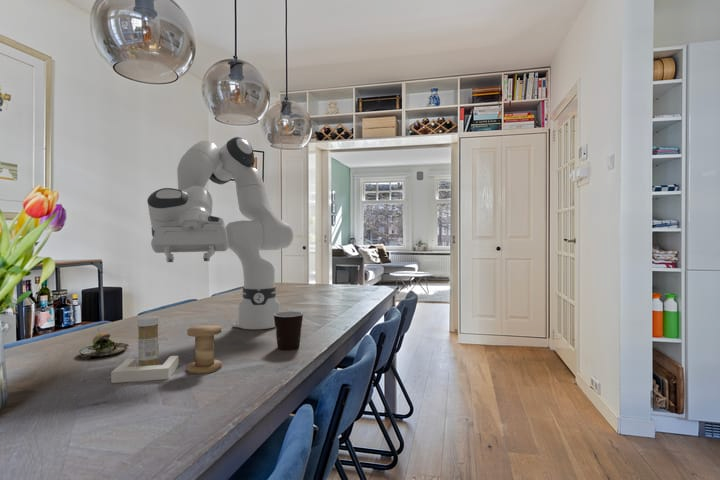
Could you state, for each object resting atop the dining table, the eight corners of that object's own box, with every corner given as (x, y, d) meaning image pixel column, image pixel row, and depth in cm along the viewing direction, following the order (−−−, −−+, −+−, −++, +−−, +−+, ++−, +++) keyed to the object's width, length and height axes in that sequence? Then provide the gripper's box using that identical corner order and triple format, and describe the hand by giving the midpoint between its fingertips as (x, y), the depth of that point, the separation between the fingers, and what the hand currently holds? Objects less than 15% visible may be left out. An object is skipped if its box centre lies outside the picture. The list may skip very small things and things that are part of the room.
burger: (85, 363, 104) (85, 335, 104) (73, 354, 112) (73, 328, 112) (135, 353, 113) (135, 327, 113) (120, 346, 121) (120, 321, 121)
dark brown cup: (297, 352, 113) (297, 317, 113) (269, 350, 115) (268, 316, 115) (310, 341, 125) (310, 310, 124) (284, 340, 126) (284, 309, 126)
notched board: (127, 368, 99) (127, 358, 99) (178, 365, 102) (178, 355, 102) (111, 383, 89) (111, 372, 89) (168, 378, 92) (168, 368, 92)
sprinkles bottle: (159, 367, 100) (159, 314, 100) (158, 373, 96) (157, 317, 96) (139, 369, 98) (138, 315, 98) (136, 375, 94) (136, 319, 94)
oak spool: (190, 364, 102) (190, 325, 102) (223, 362, 104) (223, 324, 104) (184, 375, 95) (184, 333, 94) (219, 372, 96) (219, 331, 96)
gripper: (153, 218, 113) (143, 253, 104) (228, 218, 118) (225, 251, 108) (158, 234, 118) (149, 269, 108) (230, 233, 122) (227, 266, 113)
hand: (188, 260), depth 108 cm, fingers open, 8 cm apart
